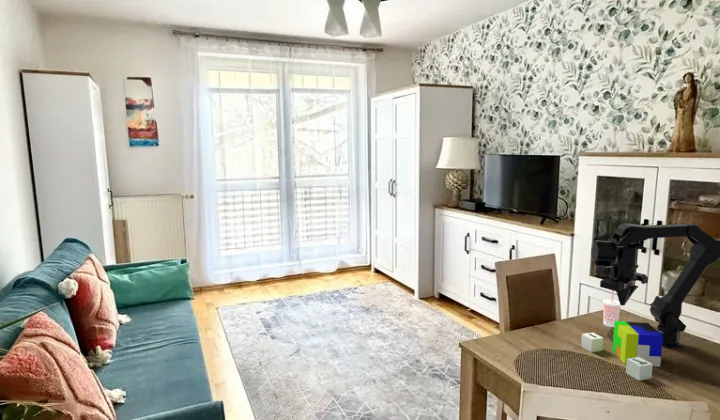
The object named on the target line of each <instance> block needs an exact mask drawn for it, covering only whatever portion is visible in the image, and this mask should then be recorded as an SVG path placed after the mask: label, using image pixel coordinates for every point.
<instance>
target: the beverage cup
mask: <svg viewBox="0 0 720 420" xmlns="http://www.w3.org/2000/svg"><path fill="white" fill-rule="evenodd" d="M611 292H612V293H611V299H609V298H608V299H607V298H606V299H603V300H602V304H603V321H602V322H603V326H606V327H608V328H614V322H615V321H619V319H620V313H621V312H620V311H621V307H622V305H620V302H619V300H615V299H614V292H615V291H613V290H611Z"/></svg>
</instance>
